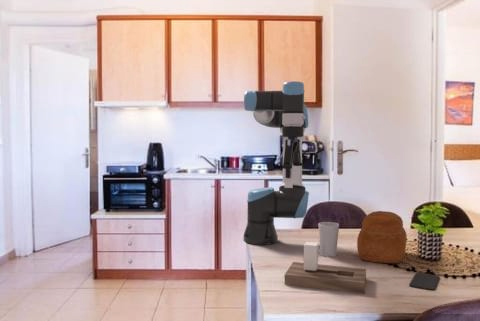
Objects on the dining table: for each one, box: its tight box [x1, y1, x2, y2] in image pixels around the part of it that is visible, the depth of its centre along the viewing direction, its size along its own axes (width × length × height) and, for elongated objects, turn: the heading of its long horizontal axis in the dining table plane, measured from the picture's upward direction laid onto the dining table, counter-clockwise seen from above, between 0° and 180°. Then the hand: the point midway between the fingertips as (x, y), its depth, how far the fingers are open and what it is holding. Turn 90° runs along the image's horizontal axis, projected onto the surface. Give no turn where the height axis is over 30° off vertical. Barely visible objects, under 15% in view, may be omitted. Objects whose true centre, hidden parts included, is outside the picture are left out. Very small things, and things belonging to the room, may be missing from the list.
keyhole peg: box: [303, 241, 319, 272], centre depth 137 cm, size 4×4×12 cm
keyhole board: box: [284, 261, 367, 294], centre depth 136 cm, size 14×24×3 cm, turn 72°
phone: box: [408, 272, 441, 291], centre depth 136 cm, size 7×1×15 cm
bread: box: [356, 210, 408, 264], centre depth 165 cm, size 18×22×17 cm
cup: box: [317, 221, 340, 257], centre depth 167 cm, size 8×8×12 cm
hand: (292, 185), depth 152 cm, fingers open, 13 cm apart
